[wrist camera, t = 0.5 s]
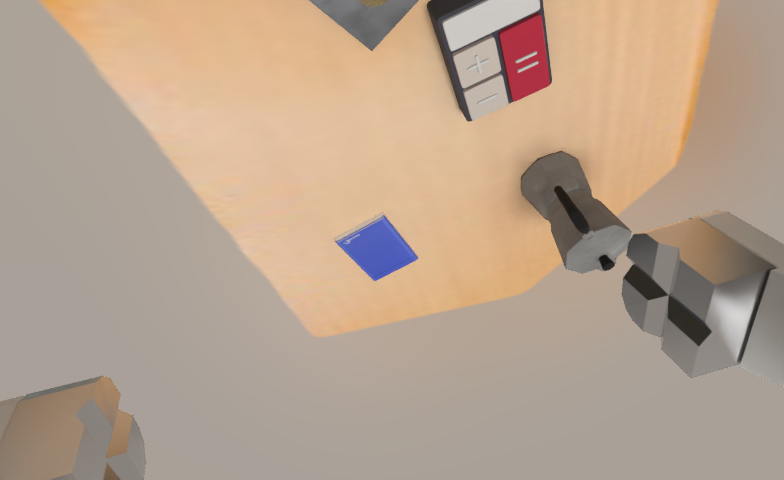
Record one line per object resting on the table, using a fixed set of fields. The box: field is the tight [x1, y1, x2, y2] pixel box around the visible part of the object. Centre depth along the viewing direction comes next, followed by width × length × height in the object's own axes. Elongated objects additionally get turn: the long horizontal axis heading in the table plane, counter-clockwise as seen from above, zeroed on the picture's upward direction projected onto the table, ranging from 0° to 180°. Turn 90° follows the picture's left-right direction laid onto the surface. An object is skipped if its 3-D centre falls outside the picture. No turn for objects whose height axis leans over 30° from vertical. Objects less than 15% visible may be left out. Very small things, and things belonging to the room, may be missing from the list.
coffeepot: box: [521, 152, 631, 273], centre depth 74 cm, size 15×9×18 cm, turn 34°
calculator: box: [427, 0, 552, 121], centre depth 60 cm, size 11×4×15 cm
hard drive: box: [334, 212, 418, 281], centre depth 83 cm, size 2×8×12 cm
